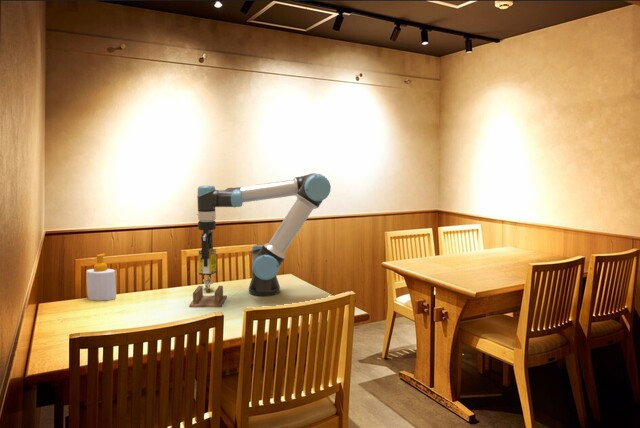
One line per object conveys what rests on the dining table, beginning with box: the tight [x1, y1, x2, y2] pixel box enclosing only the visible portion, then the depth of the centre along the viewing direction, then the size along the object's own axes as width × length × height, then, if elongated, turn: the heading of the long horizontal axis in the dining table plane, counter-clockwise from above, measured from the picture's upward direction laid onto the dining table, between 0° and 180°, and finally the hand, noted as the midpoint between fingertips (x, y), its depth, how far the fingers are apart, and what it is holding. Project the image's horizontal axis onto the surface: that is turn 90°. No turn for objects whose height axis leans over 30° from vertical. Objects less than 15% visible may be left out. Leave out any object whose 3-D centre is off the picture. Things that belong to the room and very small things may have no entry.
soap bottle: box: [86, 253, 117, 302], centre depth 215 cm, size 13×8×20 cm, turn 81°
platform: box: [202, 276, 214, 294], centre depth 230 cm, size 12×18×7 cm, turn 20°
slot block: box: [189, 285, 228, 308], centre depth 211 cm, size 14×14×6 cm
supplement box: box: [198, 248, 217, 276], centre depth 209 cm, size 6×6×11 cm
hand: (207, 271), depth 210 cm, fingers closed on supplement box, 7 cm apart
